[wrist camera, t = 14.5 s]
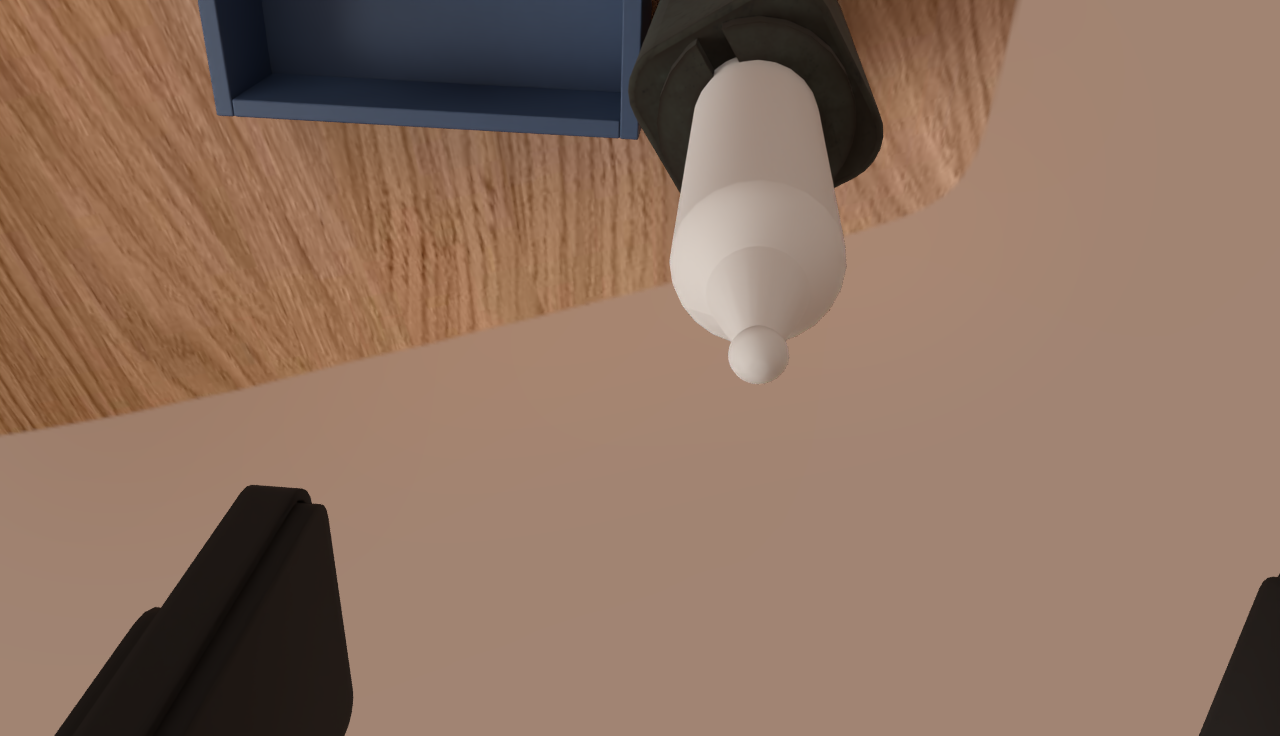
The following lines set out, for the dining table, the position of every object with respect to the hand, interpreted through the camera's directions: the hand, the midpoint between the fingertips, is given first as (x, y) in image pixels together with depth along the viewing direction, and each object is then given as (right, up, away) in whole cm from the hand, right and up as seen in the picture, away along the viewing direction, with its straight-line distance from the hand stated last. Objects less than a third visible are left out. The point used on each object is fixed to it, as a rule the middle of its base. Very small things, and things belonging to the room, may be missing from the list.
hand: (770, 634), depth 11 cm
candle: (+3, +15, +26) cm, 30 cm away
